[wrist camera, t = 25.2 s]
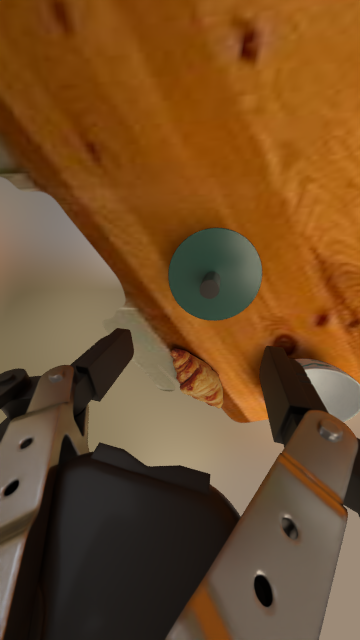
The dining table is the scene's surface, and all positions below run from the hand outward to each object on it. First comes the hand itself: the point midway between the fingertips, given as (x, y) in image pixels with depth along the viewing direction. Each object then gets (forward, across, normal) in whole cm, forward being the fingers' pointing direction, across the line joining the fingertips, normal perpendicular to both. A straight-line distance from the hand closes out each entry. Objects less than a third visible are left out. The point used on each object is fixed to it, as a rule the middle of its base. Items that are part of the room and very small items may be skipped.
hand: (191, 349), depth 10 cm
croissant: (+25, +2, +27) cm, 37 cm away
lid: (+18, 0, 0) cm, 18 cm away
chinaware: (+25, -19, +21) cm, 38 cm away
